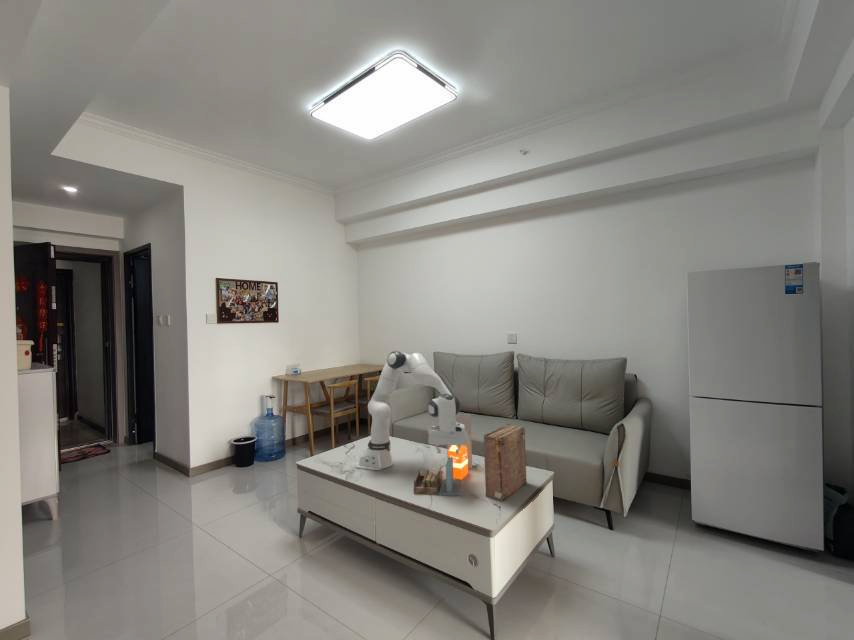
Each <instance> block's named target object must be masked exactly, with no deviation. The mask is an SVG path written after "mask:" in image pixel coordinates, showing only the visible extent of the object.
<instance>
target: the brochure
mask: <svg viewBox="0 0 854 640" xmlns="http://www.w3.org/2000/svg"><path fill="white" fill-rule="evenodd" d="M471 417H472V416H471V414H470V413H468V414H465V413H464V414H462V413H461V414H460V413H459V414H458V413H457V414H456V415H455V418H456V422H458V423H461V424H464V425H465V431H466V433H467V438H468V444H467V445H466V447H467V458H468V469H473V452H472V451H473V449H472V448H473V446H472V422H471ZM451 446H452V445H446V450H447V454H446V455H447V456H446V457H448V450H449V449H450V447H451Z"/></svg>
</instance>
